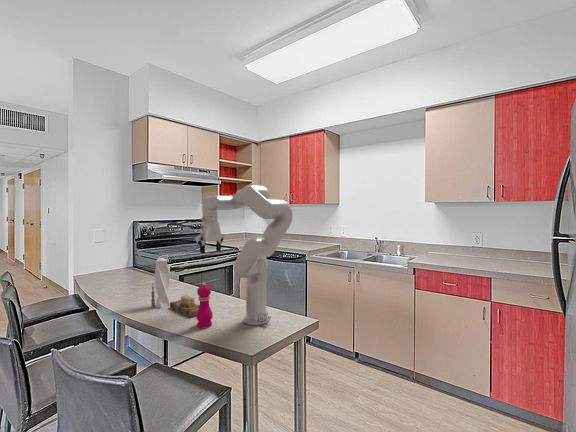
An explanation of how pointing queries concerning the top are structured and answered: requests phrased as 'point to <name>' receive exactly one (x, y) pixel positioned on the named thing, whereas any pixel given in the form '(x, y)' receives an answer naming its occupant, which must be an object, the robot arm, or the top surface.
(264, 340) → the top surface
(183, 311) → the rail
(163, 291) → the skyscraper
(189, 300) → the tan rectangular block
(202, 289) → the pepper mill
